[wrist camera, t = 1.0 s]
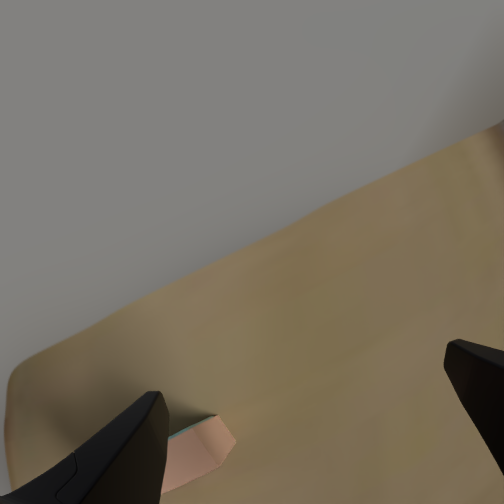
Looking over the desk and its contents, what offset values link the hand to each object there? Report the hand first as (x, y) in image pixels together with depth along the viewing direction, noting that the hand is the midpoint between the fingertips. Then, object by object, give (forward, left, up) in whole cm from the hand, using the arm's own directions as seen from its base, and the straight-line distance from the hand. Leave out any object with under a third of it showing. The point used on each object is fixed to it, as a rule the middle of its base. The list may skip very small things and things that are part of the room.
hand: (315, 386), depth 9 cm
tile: (-5, +8, -15) cm, 18 cm away
